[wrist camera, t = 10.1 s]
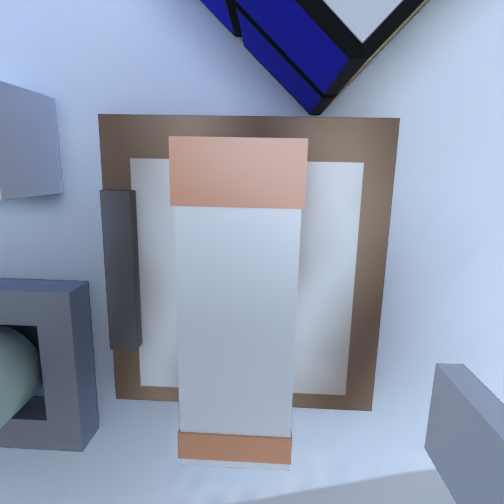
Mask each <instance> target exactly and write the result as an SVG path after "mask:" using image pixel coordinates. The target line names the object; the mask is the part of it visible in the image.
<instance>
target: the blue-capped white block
mask: <svg viewBox="0 0 504 504" xmlns="http://www.w3.org/2000/svg"><path fill="white" fill-rule="evenodd" d="M60 193H63V187H62V175H61V163H60V152H59V140H58V128H57V117H56V105H55V99H54V98H51V97H48V96H45V95H42V94H39V93H36V92H33V91H30V90H27V89H24V88H20V87H17V86H14V85H11V84H8V83H5V82H2V81H0V200H7V199H16V198H25V197H34V196H43V195H51V194H60Z"/></svg>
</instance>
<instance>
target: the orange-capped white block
mask: <svg viewBox="0 0 504 504" xmlns="http://www.w3.org/2000/svg"><path fill="white" fill-rule="evenodd" d="M307 155H308V138H253V137H195V136H169V174H170V206H174V207H175V251H176V294H177V337H178V381H179V424H180V429H179V432H178V458H180V465H194V466H211V467H229V468H246V469H264V470H281V471H289V465H291V447H292V434H291V417H292V396H293V376H294V355H295V334H296V313H297V292H298V271H299V251H300V230H301V209H305V195H306V175H307Z"/></svg>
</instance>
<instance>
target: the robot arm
mask: <svg viewBox="0 0 504 504" xmlns="http://www.w3.org/2000/svg"><path fill="white" fill-rule="evenodd" d="M425 450H426V451H427V453H428V455H429V456H430V458H431V460H432V462H433V463H434V465H435V467H436V469H437V470H438V472H439V474H440V475H441V477H442V479H443V481H444V483H445V484H446V486H447V488H448V489H449V491H450V493H451V495H452V496H453V498H454V500H455V502H456V503H457V504H504V404H503V403H502V402H501V401H500V400H499V399H498V398H497V397H496V396H495V395H494V394H493V393H492V392H491V391H490V390H489V389H488V388H487V387H486V386H485V385H484V384H483V383H482V382H481V381H480V380H479V379H478V378H477V377H476V376H475V375H474V374H473V373H472V372H471V371H470V370H469V369H468V368H467V367H466V366H465V365H464V364H437V363H436V368H435V375H434V382H433V389H432V397H431V404H430V411H429V419H428V426H427V433H426V441H425Z"/></svg>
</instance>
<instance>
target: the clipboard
mask: <svg viewBox="0 0 504 504" xmlns="http://www.w3.org/2000/svg"><path fill="white" fill-rule="evenodd" d="M98 120H99V135H100V151H101V167H102V183H103V190H100V200H101V215H102V230H103V246H104V261H105V277H106V292H107V307H108V323H109V338H110V349H113V357H114V372H115V388H116V399H133V400H154V401H174V402H179V381H178V337H177V294H176V251H175V207H174V206H170V174H169V136H195V137H253V138H308V155H307V175H306V195H305V209H301V230H300V251H299V271H298V292H297V313H296V334H295V355H294V376H293V396H292V407H298V408H318V409H339V410H359V411H371V410H372V400H373V390H374V379H375V369H376V359H377V349H378V338H379V328H380V318H381V307H382V297H383V287H384V277H385V266H386V256H387V246H388V235H389V225H390V215H391V205H392V194H393V184H394V174H395V163H396V153H397V143H398V133H399V122H400V118H349V117H275V116H201V115H127V114H98Z"/></svg>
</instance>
